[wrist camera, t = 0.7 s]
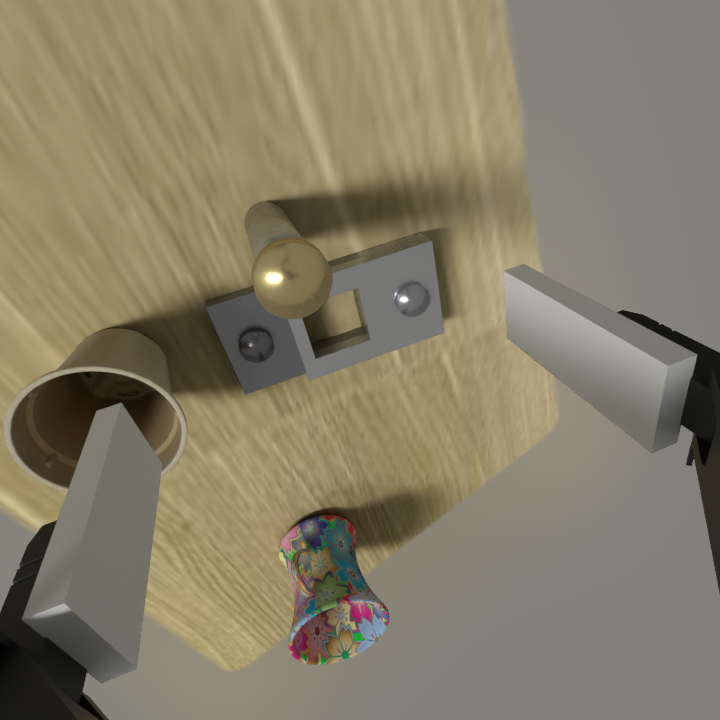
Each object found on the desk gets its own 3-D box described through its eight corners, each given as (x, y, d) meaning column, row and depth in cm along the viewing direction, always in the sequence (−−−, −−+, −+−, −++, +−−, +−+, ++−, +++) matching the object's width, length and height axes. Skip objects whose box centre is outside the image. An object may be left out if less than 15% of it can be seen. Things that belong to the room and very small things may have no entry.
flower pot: (142, 282, 31) (122, 338, 24) (214, 381, 36) (216, 451, 29) (16, 343, 31) (-42, 418, 24) (107, 434, 36) (82, 518, 29)
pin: (230, 204, 30) (241, 257, 20) (284, 188, 31) (321, 232, 21) (249, 257, 32) (268, 329, 22) (300, 241, 33) (340, 304, 23)
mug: (370, 536, 52) (404, 627, 43) (301, 577, 52) (320, 676, 43) (321, 477, 45) (349, 570, 36) (241, 524, 45) (249, 629, 36)
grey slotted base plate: (205, 301, 33) (205, 318, 30) (419, 232, 35) (435, 242, 33) (244, 386, 37) (247, 407, 35) (432, 320, 39) (447, 335, 37)
